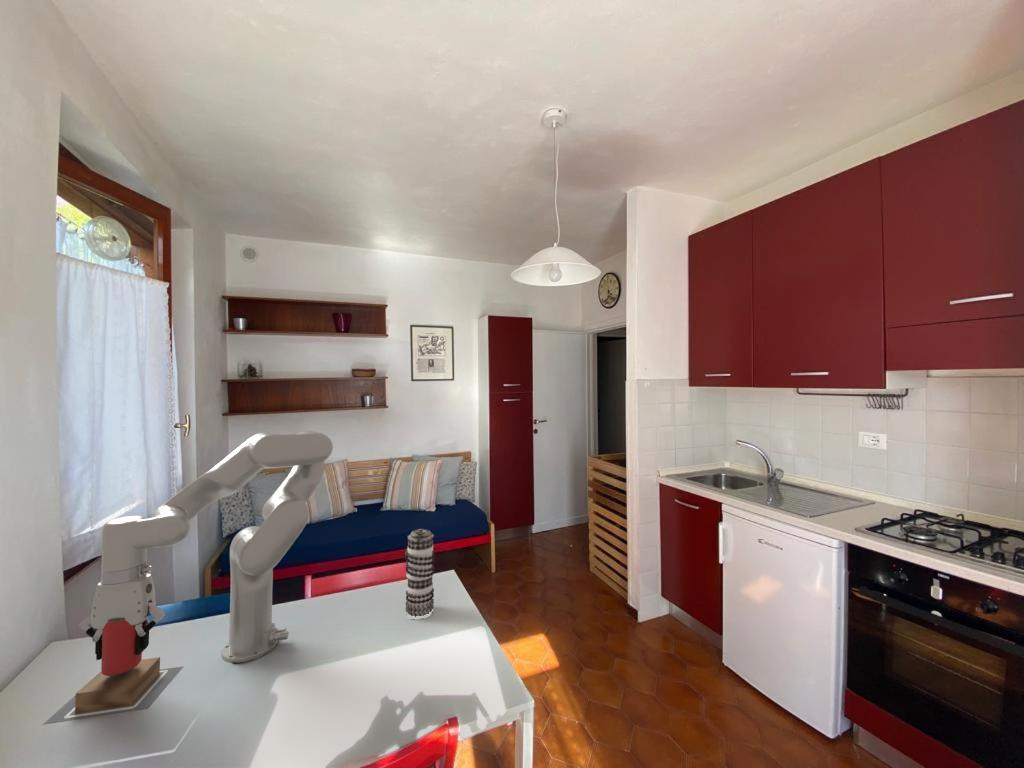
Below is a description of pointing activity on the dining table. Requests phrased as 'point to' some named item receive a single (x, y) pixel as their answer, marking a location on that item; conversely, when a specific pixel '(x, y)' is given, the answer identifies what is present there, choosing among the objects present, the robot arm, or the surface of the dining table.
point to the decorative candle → (420, 572)
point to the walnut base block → (117, 687)
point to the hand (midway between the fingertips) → (122, 653)
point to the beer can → (118, 647)
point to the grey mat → (141, 703)
